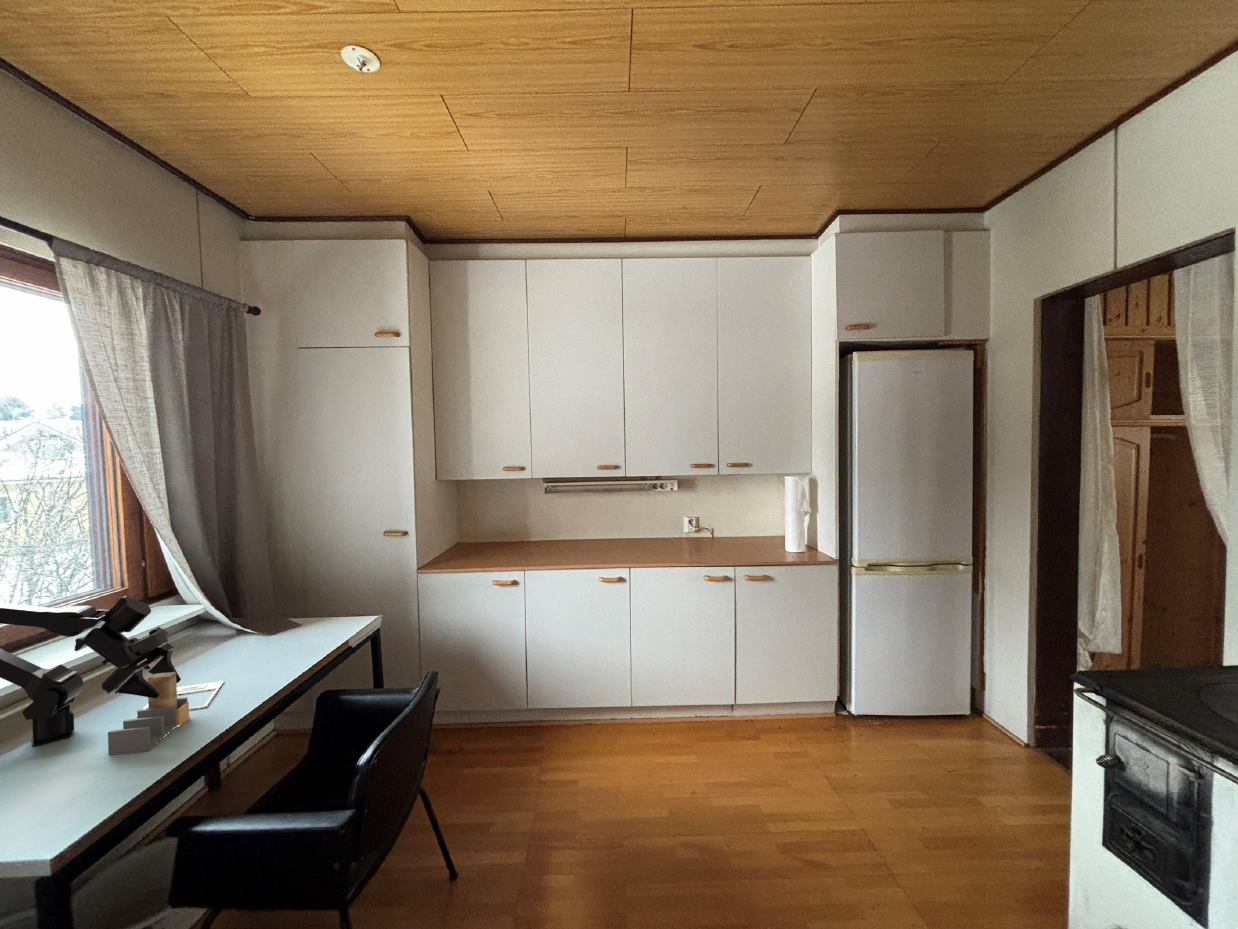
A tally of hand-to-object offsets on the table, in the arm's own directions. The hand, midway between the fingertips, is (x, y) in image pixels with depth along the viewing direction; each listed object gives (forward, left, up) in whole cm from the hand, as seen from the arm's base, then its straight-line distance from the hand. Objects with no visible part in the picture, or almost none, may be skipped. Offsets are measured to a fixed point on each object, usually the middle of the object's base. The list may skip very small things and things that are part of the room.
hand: (169, 688), depth 139 cm
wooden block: (-1, +1, -8) cm, 8 cm away
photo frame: (+5, +15, -9) cm, 19 cm away
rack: (-4, -4, -9) cm, 10 cm away
